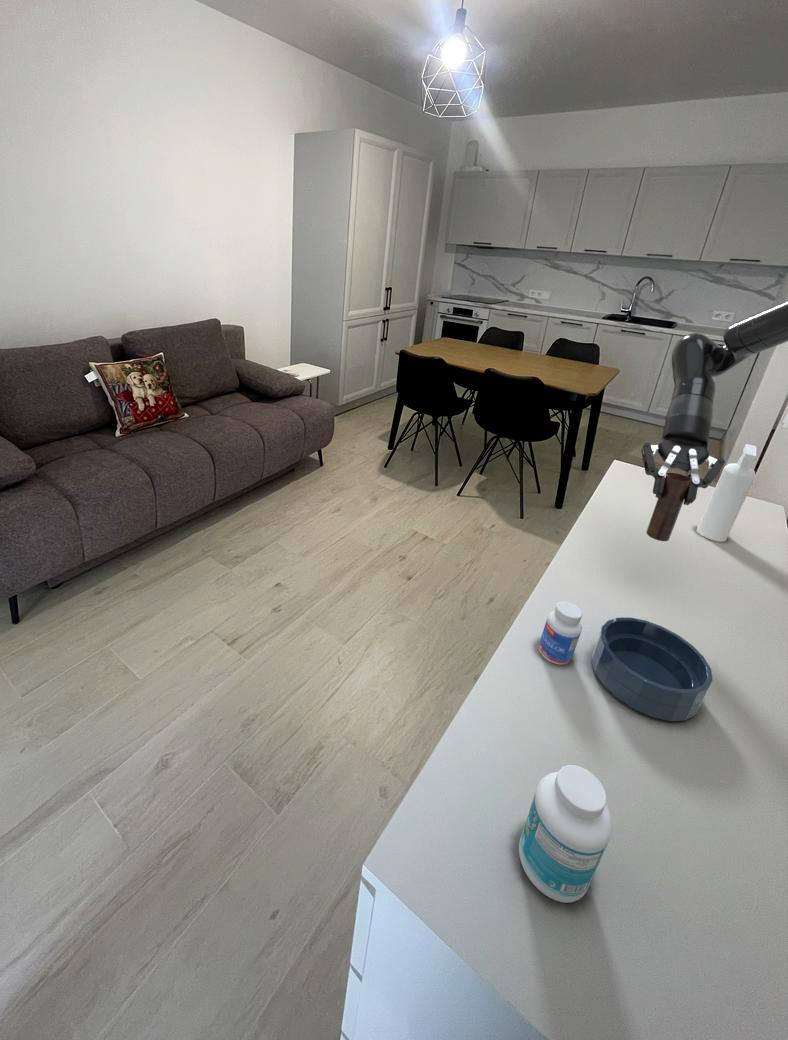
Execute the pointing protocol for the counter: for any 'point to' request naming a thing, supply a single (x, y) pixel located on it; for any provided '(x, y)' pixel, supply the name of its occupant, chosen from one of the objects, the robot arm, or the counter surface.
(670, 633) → the bowl
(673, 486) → the brown wooden dowel
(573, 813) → the pill bottle
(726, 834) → the counter surface
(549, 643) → the pill bottle
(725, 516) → the white spray bottle
